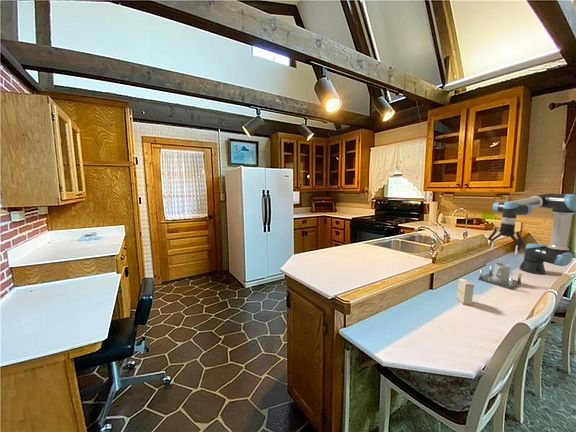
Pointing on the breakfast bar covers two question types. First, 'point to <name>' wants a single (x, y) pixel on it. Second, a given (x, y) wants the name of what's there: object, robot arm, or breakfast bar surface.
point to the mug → (501, 272)
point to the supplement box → (465, 291)
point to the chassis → (506, 284)
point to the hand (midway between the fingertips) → (503, 252)
